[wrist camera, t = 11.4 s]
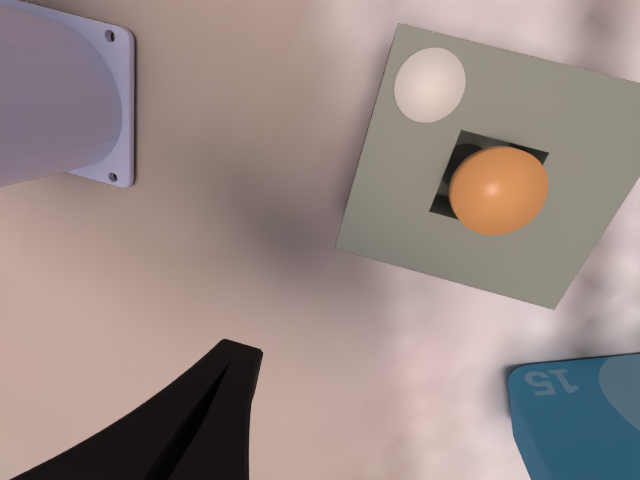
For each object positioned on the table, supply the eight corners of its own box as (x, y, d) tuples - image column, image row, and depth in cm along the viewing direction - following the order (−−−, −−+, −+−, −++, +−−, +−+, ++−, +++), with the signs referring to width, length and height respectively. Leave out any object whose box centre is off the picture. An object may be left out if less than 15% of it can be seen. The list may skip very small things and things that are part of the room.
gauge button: (421, 188, 15) (439, 222, 11) (444, 126, 14) (473, 138, 10) (481, 204, 15) (521, 244, 11) (509, 143, 14) (566, 162, 10)
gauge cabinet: (344, 211, 18) (334, 250, 14) (391, 45, 15) (398, 21, 10) (508, 256, 18) (556, 312, 13) (592, 96, 15) (697, 95, 10)
